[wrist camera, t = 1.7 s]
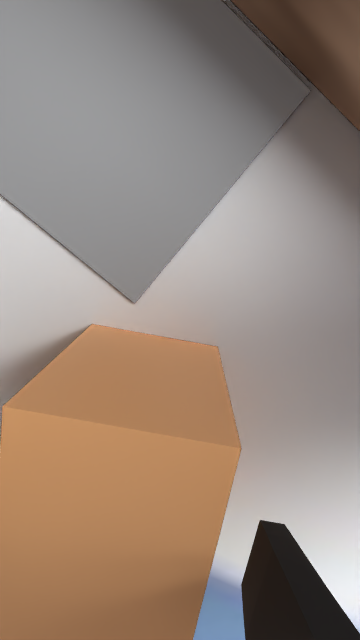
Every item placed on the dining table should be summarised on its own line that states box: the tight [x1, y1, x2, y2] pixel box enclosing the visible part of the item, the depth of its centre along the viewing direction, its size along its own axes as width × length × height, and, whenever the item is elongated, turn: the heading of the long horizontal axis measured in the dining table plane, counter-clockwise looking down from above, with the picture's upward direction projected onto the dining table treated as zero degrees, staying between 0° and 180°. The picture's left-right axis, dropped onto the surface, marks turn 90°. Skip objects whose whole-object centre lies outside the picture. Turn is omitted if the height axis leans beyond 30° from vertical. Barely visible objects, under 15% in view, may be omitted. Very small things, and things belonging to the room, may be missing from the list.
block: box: [0, 324, 241, 640], centre depth 10 cm, size 4×7×6 cm, turn 170°
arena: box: [231, 0, 360, 131], centre depth 10 cm, size 17×17×4 cm
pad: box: [0, 0, 311, 303], centre depth 10 cm, size 9×8×1 cm
